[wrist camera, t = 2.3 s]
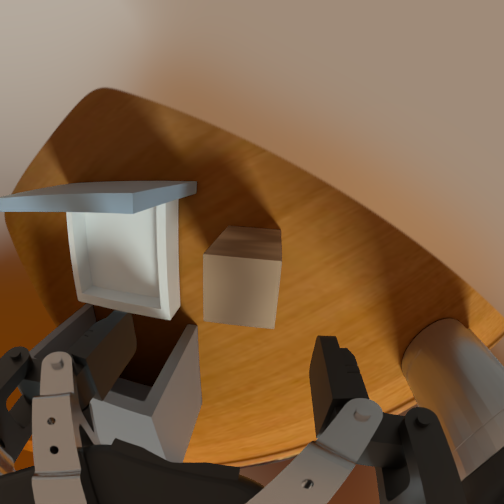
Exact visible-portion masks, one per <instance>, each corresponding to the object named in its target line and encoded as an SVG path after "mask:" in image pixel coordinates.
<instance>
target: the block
mask: <svg viewBox="0 0 504 504" xmlns="http://www.w3.org/2000/svg"><path fill="white" fill-rule="evenodd" d="M281 266H282V245H281V230H276V229H265V228H253V227H241V226H228V227H227V228H226V229H225V230H224V231H223V232H222V233H221V234H220V236H219V237H218V238H217V239H216V240H215V241H214V242H213V244H212V245H211V246H210V247H209V248H208V249H207V250H206V252H205V253H204V254H203V310H204V321H208V322H215V323H223V324H231V325H240V326H249V327H259V328H269V329H274V326H275V318H276V310H277V302H278V293H279V284H280V275H281Z"/></svg>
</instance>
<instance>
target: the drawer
mask: <svg viewBox="0 0 504 504" xmlns="http://www.w3.org/2000/svg"><path fill="white" fill-rule="evenodd" d="M196 192H197V181H109V182H85V183H71V184H65V185H58V186H53V187H47V188H41V189H36V190H31V191H26V192H21V193H17V194H12V195H8V196H3V197H0V212H66V214H67V228H68V238H69V247H70V255H71V262H72V269H73V275H74V281H75V287H76V292H77V297H78V301H81V302H85V303H89V304H93V305H97V306H102V307H106V308H110V309H115V310H119V311H124V312H129V313H134V314H139V315H144V316H149V317H154V318H160V319H165V320H171V319H172V317H173V316H174V314H175V313H176V311H177V310H178V309H179V307H180V288H179V257H178V199H180V198H183V197H186V196H189V195H193V194H196Z"/></svg>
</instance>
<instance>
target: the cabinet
mask: <svg viewBox="0 0 504 504" xmlns="http://www.w3.org/2000/svg"><path fill="white" fill-rule="evenodd" d="M95 323H96V318H95V313H94V308H93V305H91V304H85V305H84V306H83V307H82V308H80V309H79V310H78V311H77V312H75V313H74V314H73V315H72V316H70V317H69V318H68V319H67V320H66V321H64V322H63V323H62V324H61V325H60V326H58V327H57V328H56V329H55V330H54V331H52V332H51V333H50V334H49V335H48V336H47V337H45V338H44V339H43V340H42V341H41V342H40V343H39V344H37V345H36V346H35V347H34V348H33V349H32V350H31V351H29V353H30V356H31V358H33V359H41V360H43V359H44V358H45V357H46V356H47V355H49V354H51V353H53V352H59V351H60V352H65V353H66V352H67V351H68V350H69V349H70V348H71V347H72V346H73V345H74V344H75V343H76V342H77V341H78V340H79V339H80V338H81V337H82V336H84V334H85V333H86V332H87V331H89V329H90V328H91V327H92V326H93V325H94V324H95ZM90 403H91V405H92V410H93V415H94V420H95V425H96V429H97V433H98V437H99V440H100V443H101V444H108V445H112V443H113V441H114V439H115V438H117V439H120V440H122V441H125V442H128V443H131V444H134V445H137V446H140V447H143V448H145V449H146V450H148V451H150V452H152V453H154V454H156V455H158V456H159V457H161V458H163V459H165V460H167V461H170V462H176V463H182V462H183V459H184V456H185V453H186V450H187V447H188V444H189V441H190V438H191V435H192V432H193V429H194V426H195V423H196V420H197V417H198V414H199V411H200V408H201V405H202V395H201V382H200V368H199V351H198V329H197V325H192V324H187V326H186V328H185V330H184V331H183V333H182V335H181V337H180V338H179V340H178V342H177V344H176V346H175V347H174V349H173V351H172V353H171V354H170V356H169V358H168V360H167V362H166V363H165V365H164V367H163V369H162V371H161V372H160V374H159V376H158V378H157V380H156V381H155V383H154V385H153V387H150V386H147V385H143V384H139V383H136V382H132V381H129V380H126V379H122V378H119V377H118V379H117V380H116V382H115V383H114V385H113V386H112V388H111V389H110V391H109V392H108V394H107V395H106V397H105V398H104V400H103V401H100V400H97V399H94V398H92V399H91V401H90Z"/></svg>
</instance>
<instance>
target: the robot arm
mask: <svg viewBox="0 0 504 504" xmlns="http://www.w3.org/2000/svg"><path fill="white" fill-rule="evenodd" d="M136 348H137V340H136V335H135V329H134V323H133V318H132V315H131V313H128V312H123V311H118V310H114V311H113V312H112V313H111V314H110V315H109V316H108V317H107V318H106V319H105V318H104V319H102V320H100V321H98V322H96V323H95V324H94V325H93V326H92V327H91V328H90V329H89V331H87V332H86V333H85V334H84V336H82V337H81V338H80V339H79V340H78V341H77V342H76V343H75V344H74V345H73V346H72V347H71V348H70V349H69V350H68V351H67V352H66V353H65V352H60V351H59V352H53V353H51V354H49V355H47V356H46V357H45V358H44V359H43V360H41V359H33V358H31V356H30V353H29V351H28V349H26V348H24V347H14V348H12V349H10V350H9V351H8V352H6V353H5V354H4V356H2V358H0V504H327V503H328V501H329V500H330V499H331V497H332V496H333V495H334V494H335V493H336V491H337V490H338V489H339V487H340V486H341V485H342V483H343V482H344V481H345V479H346V478H347V477H348V475H349V473H350V472H351V471H352V469H353V468H354V466H355V465H356V464H360V465H367V466H374V467H375V469H376V476H377V483H378V491H379V499H380V504H504V367H503V366H502V364H501V363H500V362H499V361H498V360H497V358H496V357H495V356H494V355H493V354H492V353H491V352H490V350H489V349H488V348H487V347H486V346H485V345H484V344H483V343H482V342H481V340H480V339H479V338H478V337H477V336H476V335H475V334H474V333H473V332H472V331H471V330H470V329H466V328H465V327H464V325H463V324H462V323H460V322H459V321H458V320H455V319H443V320H439V321H437V322H435V323H433V324H431V325H430V326H428V327H426V328H425V329H424V330H423V331H422V332H420V333H419V334H418V335H417V336H416V337H415V338H414V340H413V341H412V342H411V344H410V345H409V346H408V348H407V350H406V352H405V354H404V356H403V360H402V372H403V374H404V376H405V378H406V381H407V383H408V385H409V387H410V389H411V391H412V393H413V396H414V398H415V400H416V402H417V404H418V406H419V407H416V408H412V409H411V410H409V411H408V412H407V414H406V415H405V416H400V415H393V414H387V413H384V412H382V409H381V407H380V406H379V405H378V404H377V403H375V402H374V401H372V400H369V397H368V394H367V391H366V388H365V385H364V382H363V379H362V376H361V374H360V370H359V368H358V366H357V362H356V359H355V356H354V355H353V354H352V353H351V352H350V351H349V350H348V349H347V348H340V347H339V344H338V341H337V338H336V336H317V339H316V343H315V347H314V351H313V355H312V360H311V364H310V371H309V378H310V386H311V394H312V403H313V412H314V421H315V430H316V438H318V439H317V440H316V441H315V442H314V441H312V442H310V443H309V444H308V445H307V446H306V447H305V448H304V449H303V451H302V452H301V453H300V454H299V455H298V456H297V457H296V458H295V459H294V460H293V461H292V462H291V463H290V464H289V465H288V466H287V467H286V468H285V469H284V470H283V471H282V472H281V473H280V474H279V475H278V476H277V477H276V478H274V479H273V480H272V481H271V482H270V483H269V484H268V485H267V486H266V487H264V486H263V485H261V484H260V483H257V482H256V481H254V480H252V479H250V478H247V477H245V476H242V475H239V472H240V467H233V466H225V465H218V464H212V463H176V462H170V461H167V460H165V459H163V458H161V457H159V456H158V455H156V454H154V453H152V452H150V451H148V450H146V449H145V448H143V447H140V446H137V445H134V444H131V443H128V442H125V441H122V440H120V439H117V438H115V439H114V441H113V443H112V445H108V444H101V443H100V440H99V437H98V433H97V429H96V425H95V420H94V415H93V410H92V405H91V403H90V401H91V399H92V398H94V399H97V400H100V401H103V400H104V398H105V397H106V395H107V394H108V392H109V391H110V389H111V388H112V386H113V385H114V383H115V382H116V380H117V379H118V377H119V376H120V374H121V373H122V371H123V370H124V368H125V367H126V366H127V364H128V363H129V361H130V360H131V358H132V357H133V355H134V354H135V352H136ZM16 387H18V388H19V390H20V392H21V394H22V396H21V397H20V398H19V399H18V401H17V402H16V403H15V405H14V406H13V407H12V409H11V410H10V411H8V410H7V408H6V400H7V398H8V397H9V396H10V394H11V393H12V392H13V391H14V390H15V388H16ZM31 435H32V440H33V455H34V465H35V466H31V467H28V468H25V469H21V470H18V471H15V470H14V463H15V461H16V459H17V458H18V456H19V454H20V452H21V451H22V449H23V448H24V446H25V444H26V443H27V441H28V440H29V438H30V436H31Z"/></svg>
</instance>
